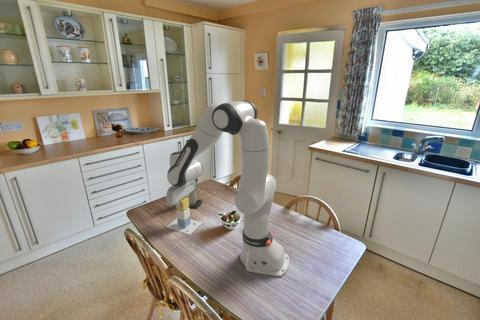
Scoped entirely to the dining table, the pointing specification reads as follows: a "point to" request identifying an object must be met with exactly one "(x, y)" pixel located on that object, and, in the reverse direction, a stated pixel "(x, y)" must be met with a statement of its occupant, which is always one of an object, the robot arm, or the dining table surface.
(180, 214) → the block
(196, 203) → the figurine
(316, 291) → the dining table surface
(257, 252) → the robot arm
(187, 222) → the block
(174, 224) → the build plate
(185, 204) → the block
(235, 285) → the dining table surface
